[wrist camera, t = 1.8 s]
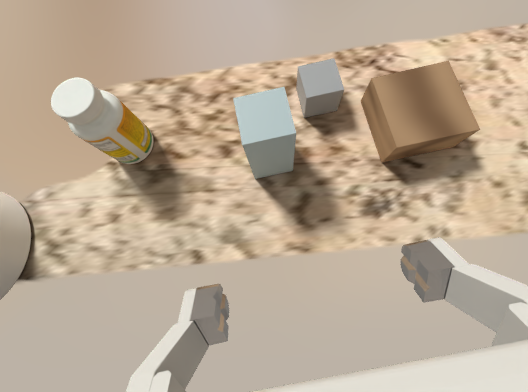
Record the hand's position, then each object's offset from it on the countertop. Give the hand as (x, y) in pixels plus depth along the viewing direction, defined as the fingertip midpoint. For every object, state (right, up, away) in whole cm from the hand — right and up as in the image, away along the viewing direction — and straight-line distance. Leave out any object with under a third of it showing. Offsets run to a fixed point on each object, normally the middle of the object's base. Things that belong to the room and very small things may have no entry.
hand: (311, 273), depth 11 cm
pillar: (-1, +8, +18) cm, 20 cm away
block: (+4, +15, +20) cm, 25 cm away
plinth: (+14, +12, +18) cm, 26 cm away
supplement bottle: (-18, +10, +20) cm, 29 cm away
